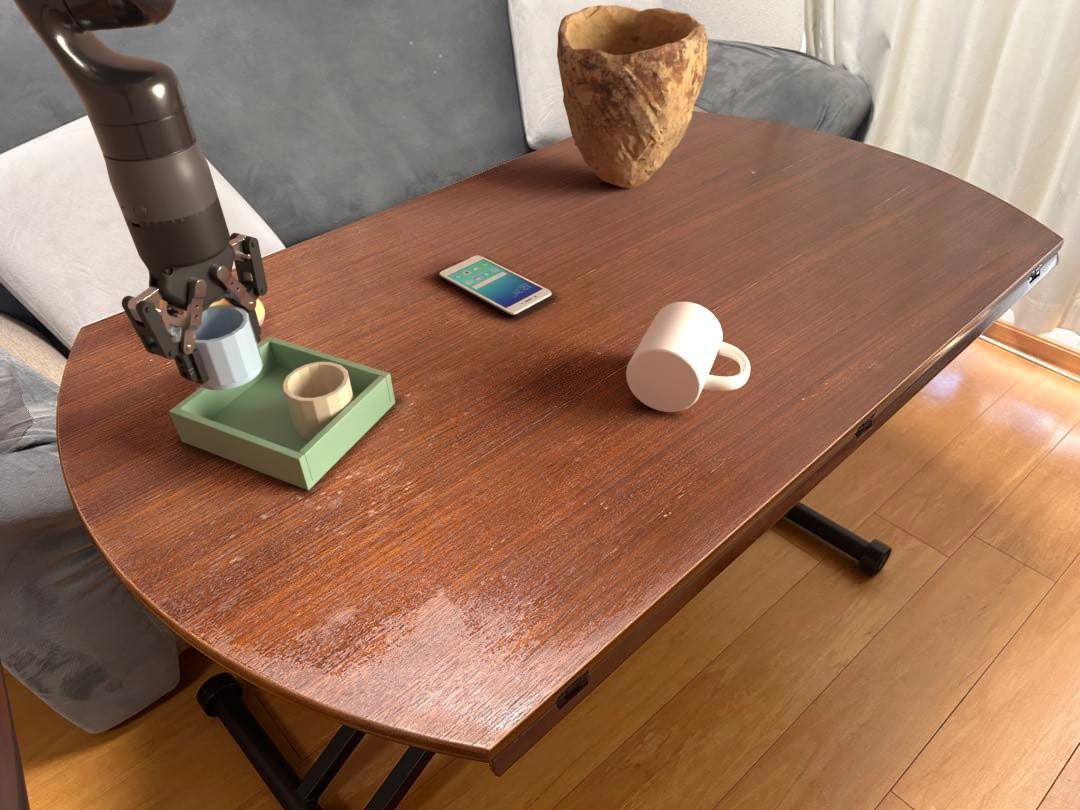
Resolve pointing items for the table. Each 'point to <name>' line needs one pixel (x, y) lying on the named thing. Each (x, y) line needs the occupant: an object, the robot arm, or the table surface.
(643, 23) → the rough brown clay pot
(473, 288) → the smartphone
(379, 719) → the table surface
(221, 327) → the gray cup
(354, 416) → the tub
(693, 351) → the mug
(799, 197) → the table surface
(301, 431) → the cream cup
